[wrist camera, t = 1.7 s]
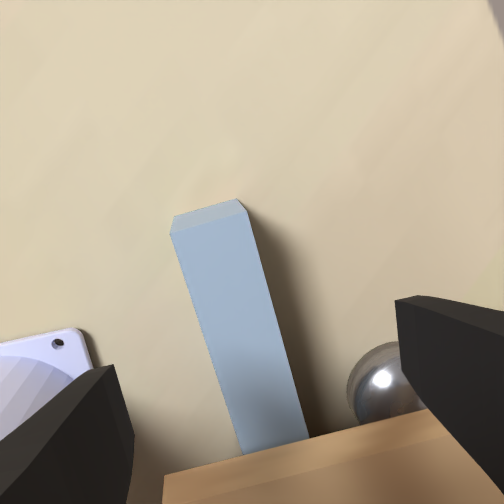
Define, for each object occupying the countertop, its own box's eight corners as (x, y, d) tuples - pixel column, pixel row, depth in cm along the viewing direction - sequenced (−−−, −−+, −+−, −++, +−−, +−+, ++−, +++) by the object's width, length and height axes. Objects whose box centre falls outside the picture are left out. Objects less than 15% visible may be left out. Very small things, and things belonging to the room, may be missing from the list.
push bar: (253, 461, 22) (267, 527, 18) (174, 215, 19) (169, 233, 15) (304, 444, 22) (328, 506, 19) (235, 197, 19) (246, 210, 15)
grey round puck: (351, 435, 23) (366, 462, 21) (339, 352, 21) (354, 372, 19) (439, 413, 23) (461, 437, 21) (433, 329, 22) (456, 347, 20)
